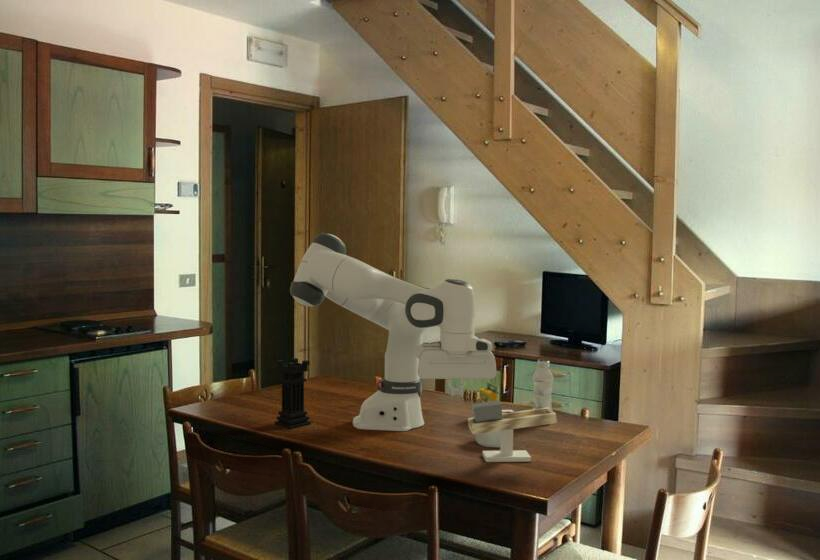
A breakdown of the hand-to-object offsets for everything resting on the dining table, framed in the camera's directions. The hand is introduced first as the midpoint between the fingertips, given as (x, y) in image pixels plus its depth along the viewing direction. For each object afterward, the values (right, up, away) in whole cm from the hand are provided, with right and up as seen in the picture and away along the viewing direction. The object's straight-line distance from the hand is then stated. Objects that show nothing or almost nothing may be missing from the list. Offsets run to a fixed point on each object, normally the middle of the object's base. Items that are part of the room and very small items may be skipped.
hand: (456, 395), depth 194 cm
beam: (+15, -8, +2) cm, 17 cm away
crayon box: (+13, -16, +47) cm, 52 cm away
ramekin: (+12, -17, +22) cm, 31 cm away
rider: (+8, -7, +1) cm, 11 cm away
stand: (+14, -18, +8) cm, 24 cm away
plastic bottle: (+30, -16, +46) cm, 57 cm away
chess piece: (-49, -15, +40) cm, 65 cm away
